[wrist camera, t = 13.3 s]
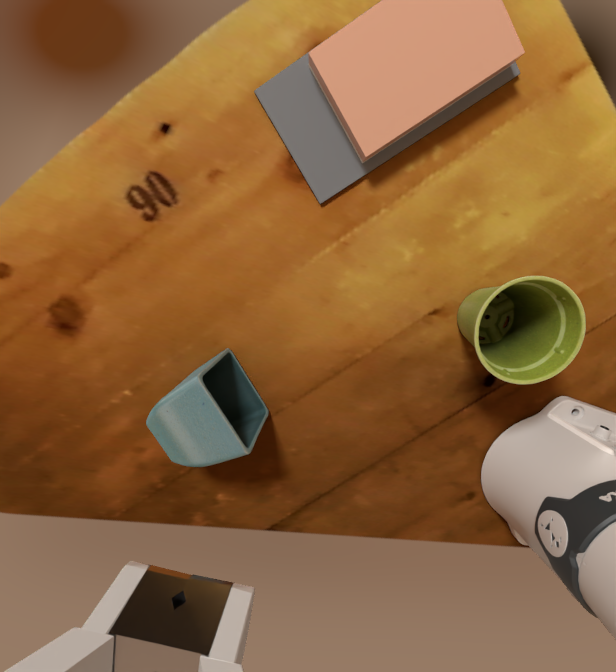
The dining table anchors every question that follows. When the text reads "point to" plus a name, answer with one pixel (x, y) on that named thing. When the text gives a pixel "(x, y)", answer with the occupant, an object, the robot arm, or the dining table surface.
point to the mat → (338, 127)
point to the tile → (410, 64)
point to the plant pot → (524, 328)
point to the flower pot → (209, 415)
